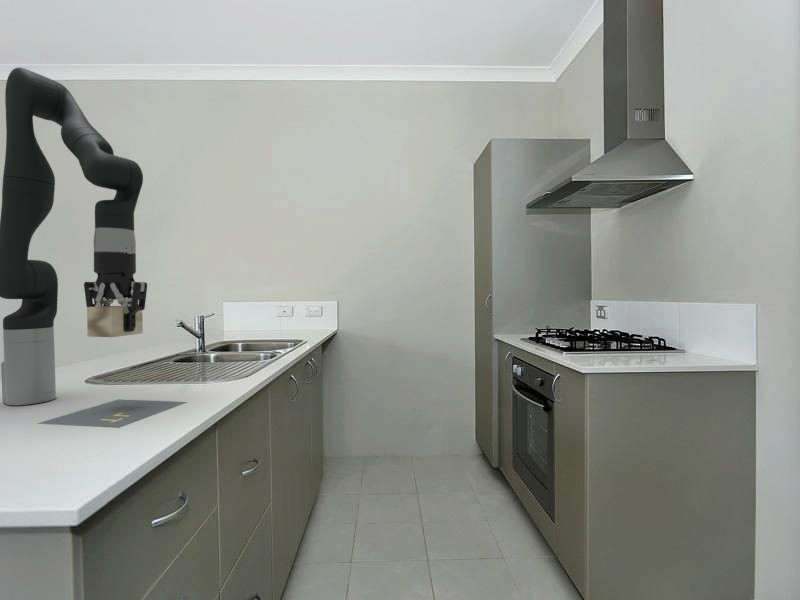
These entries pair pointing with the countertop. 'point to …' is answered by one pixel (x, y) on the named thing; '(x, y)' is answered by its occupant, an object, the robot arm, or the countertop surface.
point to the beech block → (110, 322)
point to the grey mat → (114, 413)
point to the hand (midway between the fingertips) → (115, 330)
